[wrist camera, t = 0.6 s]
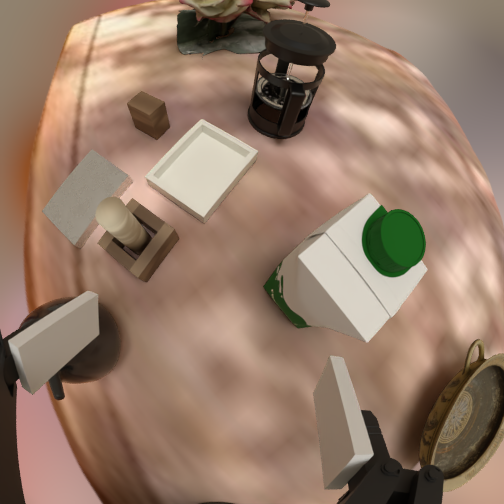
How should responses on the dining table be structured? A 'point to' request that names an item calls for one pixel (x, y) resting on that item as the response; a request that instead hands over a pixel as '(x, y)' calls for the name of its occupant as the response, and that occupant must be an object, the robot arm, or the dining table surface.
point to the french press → (284, 85)
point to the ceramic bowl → (466, 420)
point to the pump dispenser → (84, 350)
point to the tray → (202, 169)
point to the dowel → (122, 224)
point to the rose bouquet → (225, 25)
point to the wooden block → (149, 114)
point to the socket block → (152, 252)
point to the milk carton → (351, 270)
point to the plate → (85, 197)
